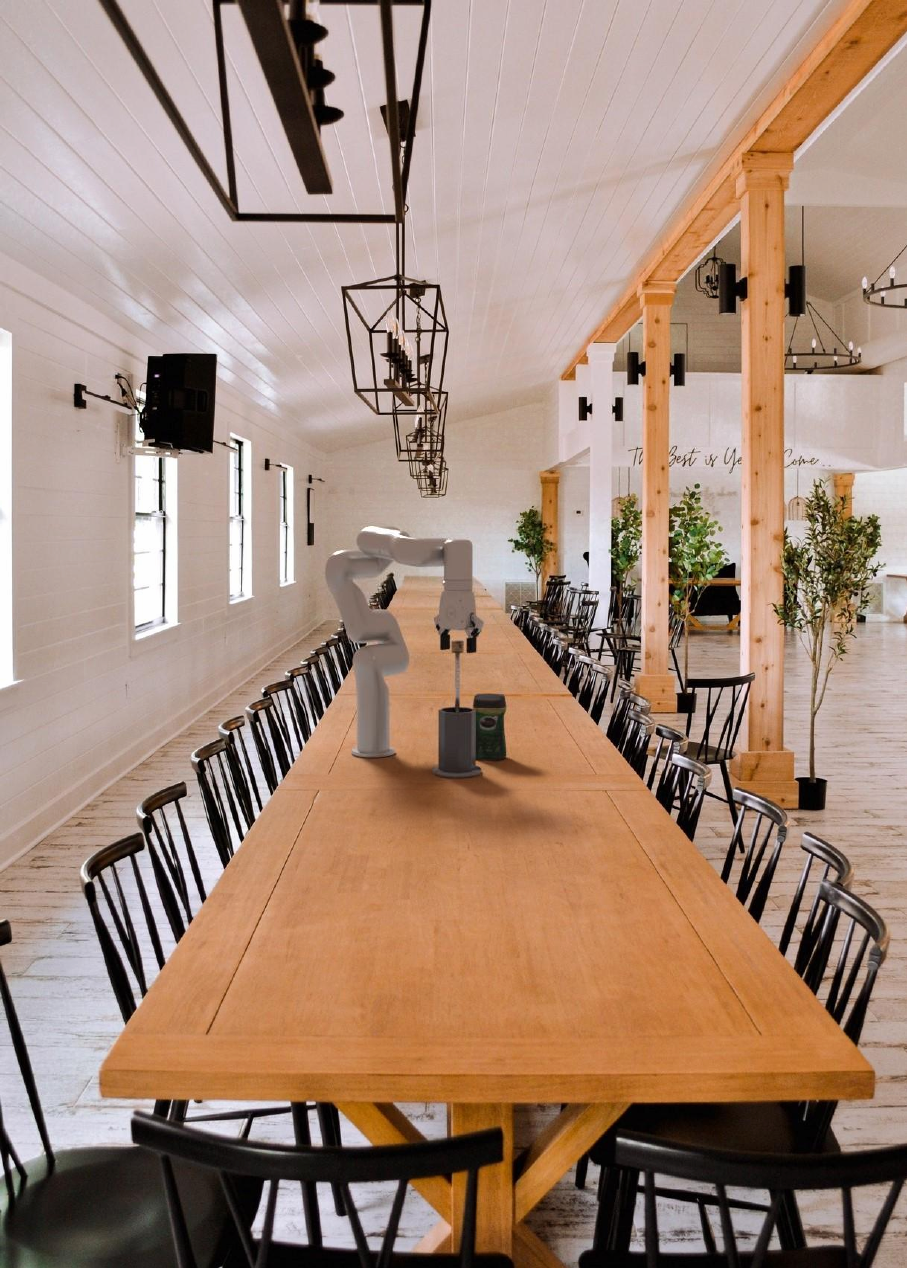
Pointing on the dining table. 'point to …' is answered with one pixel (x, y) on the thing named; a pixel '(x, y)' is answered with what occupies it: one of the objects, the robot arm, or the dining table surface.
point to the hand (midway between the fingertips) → (458, 651)
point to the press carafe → (457, 744)
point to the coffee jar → (490, 726)
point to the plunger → (457, 670)
